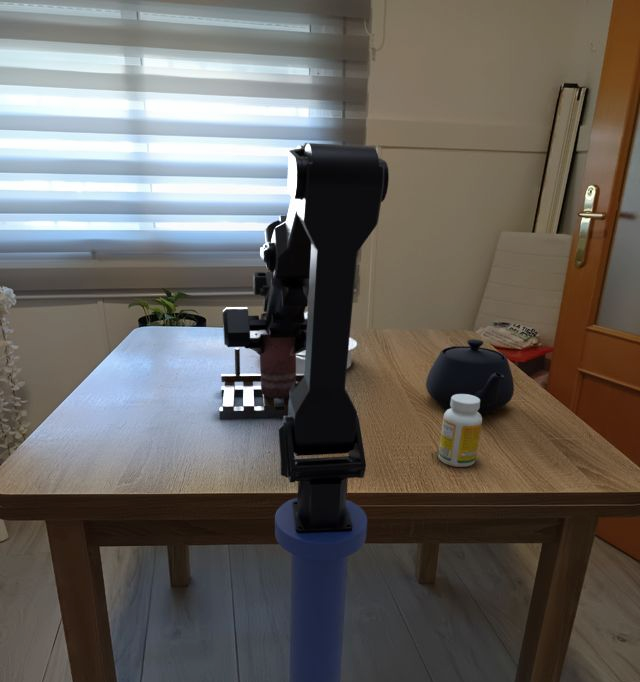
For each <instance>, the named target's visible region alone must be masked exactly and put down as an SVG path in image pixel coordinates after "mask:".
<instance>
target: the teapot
mask: <svg viewBox="0 0 640 682" xmlns="http://www.w3.org/2000/svg"><path fill="white" fill-rule="evenodd" d="M466 343H467V344H468V346H467V345H465V346H464V345H461V346H460V345H459V346H457V345H453V346H450V347H446V348H443V349H441V351H440V352H439V354H438V356H437V357H436V359H435V360H434V362H433V364H432V365H431V368H430V369H429V371H428V374H427V378H426V381H425V388H426V391H427V393H428V395H429V396H430V398H431V399H432V400H434V401H435V403H436V404H437V405H438V406H439V407H441V408H443V409H445V410H448V409H450V408H451V406H450V403H451V397H452V396H453V395H456V394H468V395H473V396H476V397H478V398H479V399H480V408H479V409H478V411H477V412H479V413H480V415H487V414H492V413H495V412H496V411H498V410H499V409H502V408H503V407H505V406H506V405H507V404H509V403H510V402H511V400H512V398H513V397H514V391H515V384H514V383H515V382H514V377H513V373H512V369H511V367H510V363H509V361H508V358H507V356H506V355H505V354H504V353H502V352H500V351H497V350H495V349H491V348H485V347H482V346H483V344H484V341H483V340H481V339H475V338H470V339H467V341H466Z"/></svg>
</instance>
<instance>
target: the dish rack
mask: <svg viewBox="0 0 640 682" xmlns="http://www.w3.org/2000/svg"><path fill="white" fill-rule="evenodd" d="M240 350H241V348H240V347H234V373H221V375H220V376H221V377H220V378H221V379H220V381H221V383H224V385H222V386H221V391H220V392H221V398H223V399H222V406H219V411H218V414H219V415H218V416H219V417H218V418H219V420H258V419H260V420H261V419H283V417H284V416H288V407H289V398H284V399H281V400H282V405H276V404H275V399H272V398H267V397H265V396H264V395H263V393H262V392H261V385H254V383H261V373H241V351H240ZM303 378H304V374H296V383H300V382H301V380H302V379H303ZM236 383H242V384H243V385H236ZM235 398H242V399H243V400H242V401H243V403H242V404H243V406H235ZM255 398H262V404H263V406H262V405H261V406H259V405H258V406H256V405H255Z"/></svg>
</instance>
